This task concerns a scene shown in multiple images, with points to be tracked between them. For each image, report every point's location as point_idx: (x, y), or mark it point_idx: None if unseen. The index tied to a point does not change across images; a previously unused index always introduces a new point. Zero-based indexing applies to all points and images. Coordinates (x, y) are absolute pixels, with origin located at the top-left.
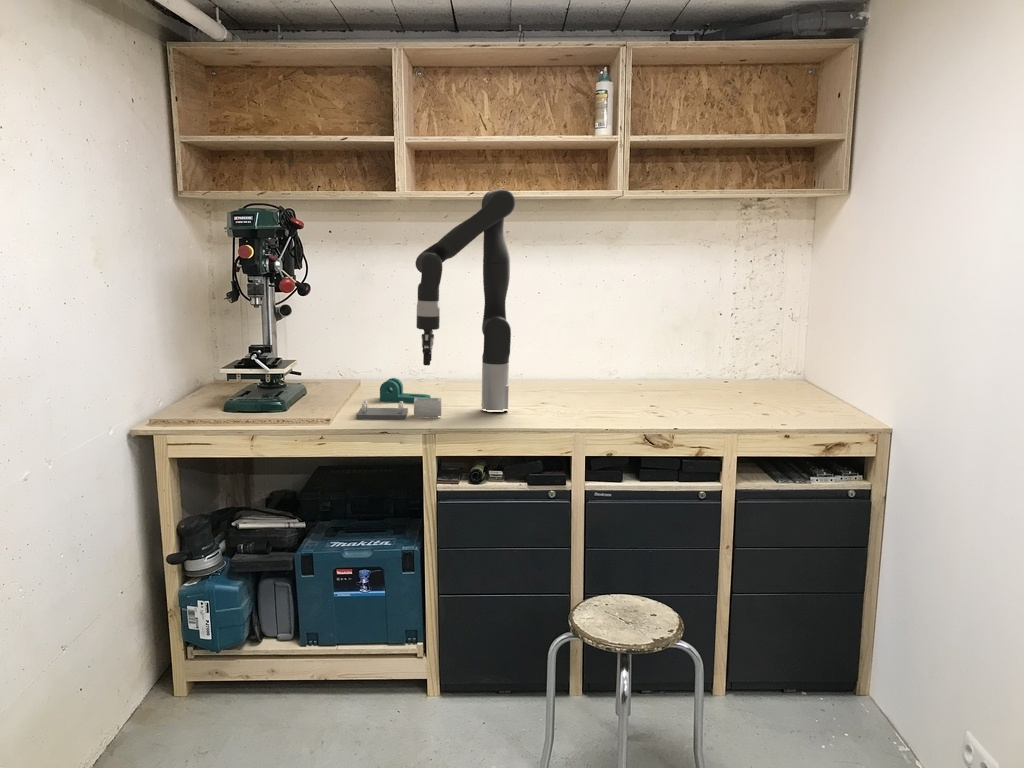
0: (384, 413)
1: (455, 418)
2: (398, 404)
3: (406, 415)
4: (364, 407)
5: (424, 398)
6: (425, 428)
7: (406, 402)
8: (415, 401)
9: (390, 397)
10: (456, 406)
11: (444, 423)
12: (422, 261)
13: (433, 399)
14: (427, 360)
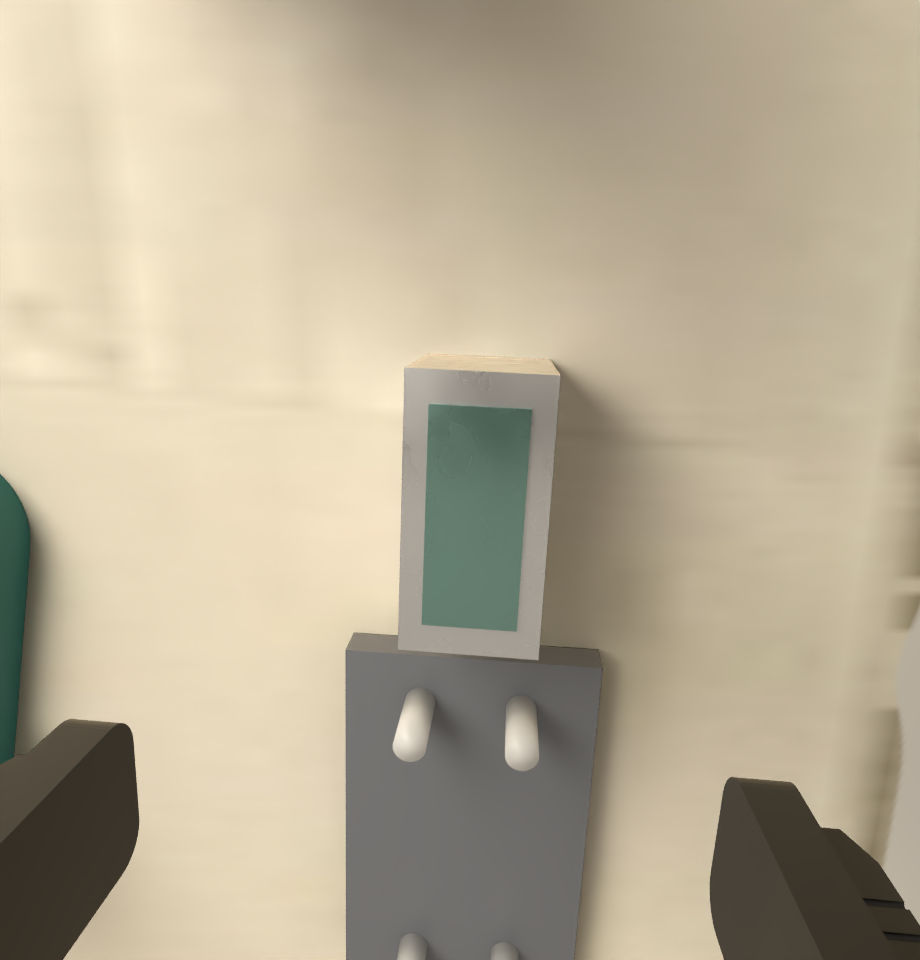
0: (534, 821)
1: (572, 218)
2: (526, 769)
3: None
4: None
5: (458, 556)
6: (905, 496)
7: (19, 645)
8: (537, 639)
9: None
10: (92, 197)
11: (752, 328)
12: None
13: (508, 460)
14: (900, 943)
